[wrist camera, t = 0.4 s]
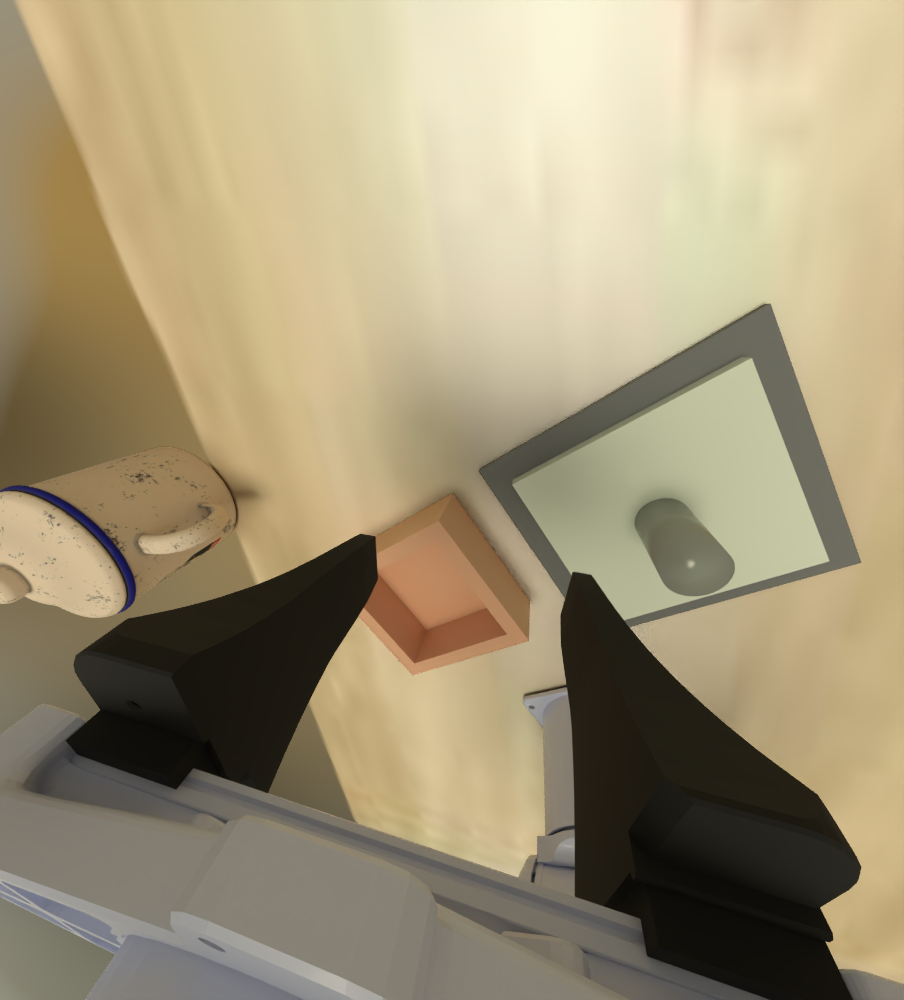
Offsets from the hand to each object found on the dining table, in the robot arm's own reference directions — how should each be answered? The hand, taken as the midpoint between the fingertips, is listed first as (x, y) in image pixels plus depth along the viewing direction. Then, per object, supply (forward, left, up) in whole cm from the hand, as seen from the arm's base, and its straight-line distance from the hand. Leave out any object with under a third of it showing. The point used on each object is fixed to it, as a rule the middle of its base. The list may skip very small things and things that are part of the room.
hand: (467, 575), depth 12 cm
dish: (-5, +8, -10) cm, 14 cm away
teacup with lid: (+10, +21, -10) cm, 26 cm away
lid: (-7, -7, -10) cm, 13 cm away
